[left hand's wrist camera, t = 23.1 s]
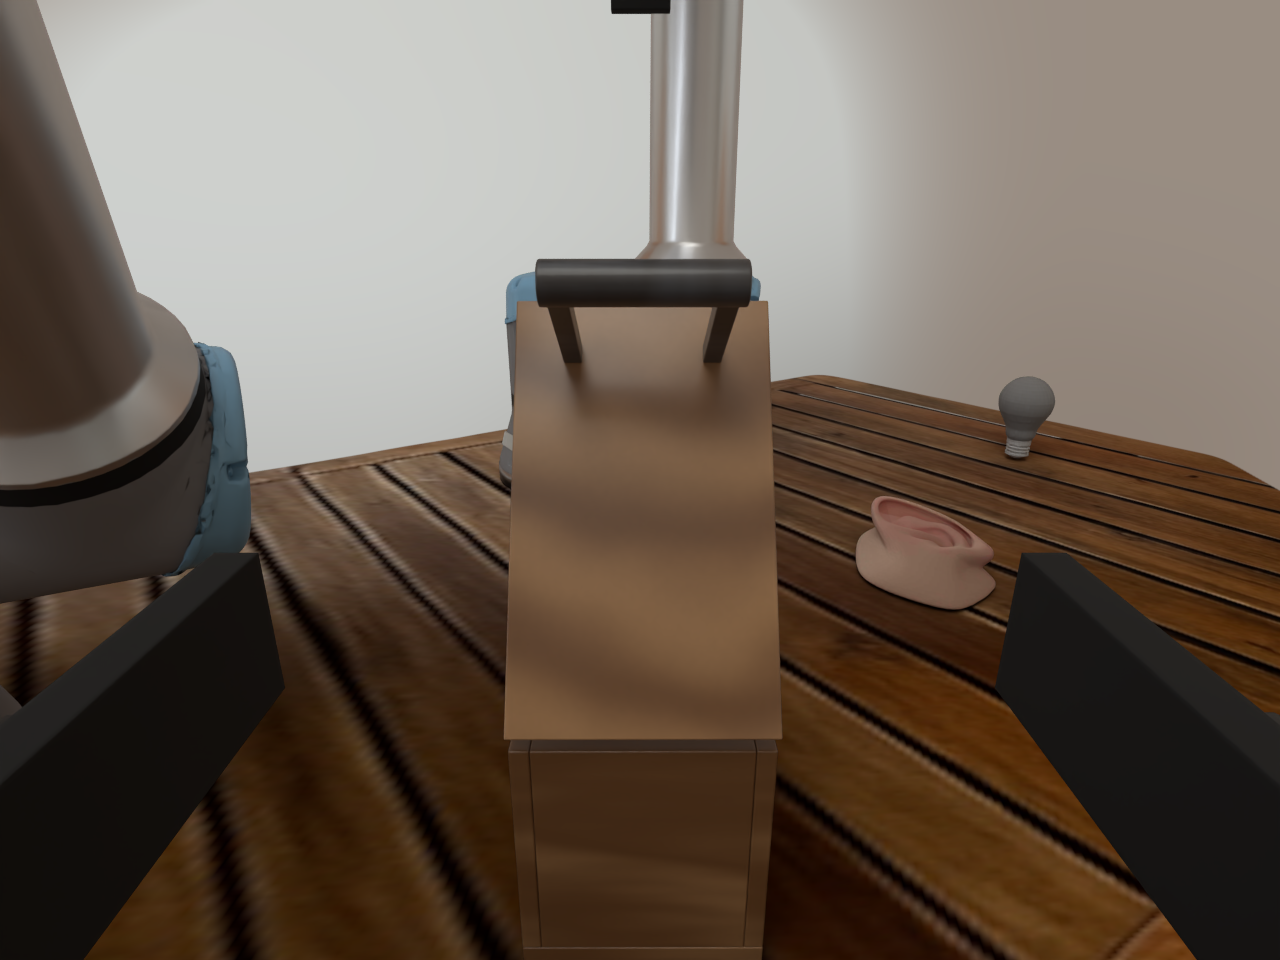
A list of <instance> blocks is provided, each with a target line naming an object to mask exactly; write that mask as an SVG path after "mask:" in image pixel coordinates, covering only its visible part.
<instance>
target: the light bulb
mask: <svg viewBox="0 0 1280 960" xmlns="http://www.w3.org/2000/svg"><path fill="white" fill-rule="evenodd" d="M1054 405H1055V397H1054V393H1053V391H1052V389H1051V388H1050V386H1049V385H1048V384H1047V383H1046V382H1045V381H1043V380H1041V379H1039V378H1036V377H1020V378H1017V379H1015V380H1013V381H1011V382H1010V383H1009V384H1007V385H1006V386H1005V387H1004V389H1003V390H1002V392H1001V393H1000V396H999V409H1000V412H1001V415H1002V417H1003V419H1004V422H1005V425H1006V435H1007V443H1006V445H1007V446H1006V449H1005V453H1006V454H1008V455H1009V456H1011V457H1013V458H1023V457H1026V456H1028V455H1029V453H1028V452H1029V450H1028V449H1030V447H1029V446H1030V445H1031V441H1032V439H1033V438H1034V437H1035V435H1036V432H1037V429H1038V428H1039V427H1040V425H1041V424H1042V423H1043V422H1044V421H1045V420H1046V419H1047V417H1048V416H1049V415H1050V414H1051V412H1052V410H1053V408H1054Z"/></svg>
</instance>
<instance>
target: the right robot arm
mask: <svg viewBox="0 0 1280 960" xmlns="http://www.w3.org/2000/svg"><path fill="white" fill-rule="evenodd" d="M611 12H612V14H651V101H650V241H649V243H648V245H647V246H646V247H645V249H644V250H643V251H642V252H641V253H640V254H639V255H638V256H637V257H636V258H635V259H747V258H746V257H745V256H744V255H743V254H742V253H741V252H740V250H739V249H738V248H737V247H736V245H735V244H734V242H733V236H734V212H735V188H736V164H737V139H738V115H739V92H740V68H741V44H742V20H743V0H611ZM760 287H761V285H760V281H759V280H758V279H756V278H754V277H753V276H752V291H751V299H750V301H759V296H760ZM517 301H537V298H536V289H535V272H531V273H526V274H522V275H519V276H517V277H515V278H513V279H512V280H511V281H510V283H509V284H508V286H507V290H506V319H505V324H507V339H508V354H509V369H510V383H511V396H512V415H511V418H510V422H509V426H508V430H507V432H506V431H505V433H504V438H503V442H502V444H503V448H502V452H501V456H500V461H499V468H500V479H501V481H502V482H503V483H504V484H505V485H506V486H508V487H510V488H511V479H512V446H513V413H514V379H515V346H516V313H517Z"/></svg>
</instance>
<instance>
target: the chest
mask: <svg viewBox="0 0 1280 960" xmlns="http://www.w3.org/2000/svg"><path fill="white" fill-rule="evenodd" d="M777 758H778V750H777V746H776V742H775V740H511V742H510V746H509V750H508V759H509V772H510V785H511V798H512V811H513V825H514V838H515V851H516V864H517V877H518V890H519V903H520V916H521V930H522V943H523V958H524V960H762V950H763V947H762V946H763V935H764V923H765V910H766V897H767V885H768V872H769V859H770V847H771V834H772V822H773V809H774V796H775V784H776V771H777Z"/></svg>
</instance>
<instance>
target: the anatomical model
mask: <svg viewBox="0 0 1280 960" xmlns="http://www.w3.org/2000/svg"><path fill="white" fill-rule="evenodd" d="M871 515H872V520H873V523H874V525H875V527H874V528H873V529H870V530H868V531H867V532H865V533H864V534H863V535H862V536H861V537H860V538H859V540H858V543H857V547H856V563H857V567H858V570H859V572H860V574H861V575H862V576H863V577H864V578H865V579H866V580H867V581H868V582H870V583H871V584H873V585H875V586H877V587H879V588H881V589H883V590H885V591H888V592H890V593H893V594H895V595H898V596H901V597H904V598H907V599H910V600H913V601H916V602H919V603H923V604H926V605H930V606H934V607H938V608H944V609H953V610H956V609H963V608H966V607H969V606H971V605H973V604H975V603H977V602H978V601H980V600H982V599H983V598H985V597H986V596H988V595H989V593H990V592H991V591H992V590H993V589H994V588H995V585H996V584H995V581H994V579H993V578H992V577H991V576H990V575H989V574H988V573H987V572H986V571H985V570H984V568H983V566H984V565H985V564H987V563H988V562H990V561H991V560H992V558H993V556H994V552H993V549H992V548H991V547H990V546H989V545H987V544H986V543H985V542H984V541H983V540H981V539H980V538H979V537H977V536H976V535H975V534H974V533H972V532H971V531H970V530H968V529H967V528H966V527H964V526H963V525H962V524H960V523H958V522H957V521H955V520H953V519H951V518H949V517H947V516H945V515H943V514H941V513H938V512H936V511H934V510H931V509H929V508H926V507H924V506H921V505H918V504H915V503H912V502H909V501H906V500H902V499H899V498H894V497H888V496H882V497H878V498H876V499H875V500H874V501H873V503H872V506H871Z"/></svg>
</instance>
